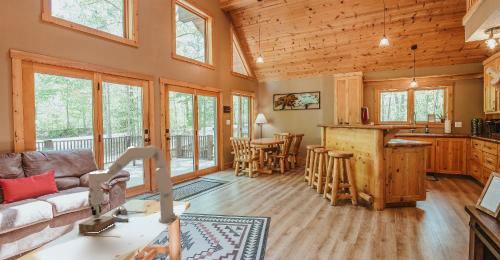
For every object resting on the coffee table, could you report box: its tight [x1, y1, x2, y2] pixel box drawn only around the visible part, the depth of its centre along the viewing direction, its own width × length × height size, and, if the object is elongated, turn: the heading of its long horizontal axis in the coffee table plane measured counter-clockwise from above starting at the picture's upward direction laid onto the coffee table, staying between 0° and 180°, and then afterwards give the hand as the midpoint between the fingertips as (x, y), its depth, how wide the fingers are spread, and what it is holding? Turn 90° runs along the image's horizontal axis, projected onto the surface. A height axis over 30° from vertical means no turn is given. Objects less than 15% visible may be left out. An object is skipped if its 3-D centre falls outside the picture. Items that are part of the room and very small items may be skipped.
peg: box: [93, 205, 101, 218], centre depth 187 cm, size 4×4×12 cm
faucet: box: [110, 204, 147, 222], centre depth 211 cm, size 5×28×28 cm
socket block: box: [78, 215, 116, 234], centre depth 188 cm, size 16×16×6 cm
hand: (96, 213), depth 187 cm, fingers closed on peg, 3 cm apart
